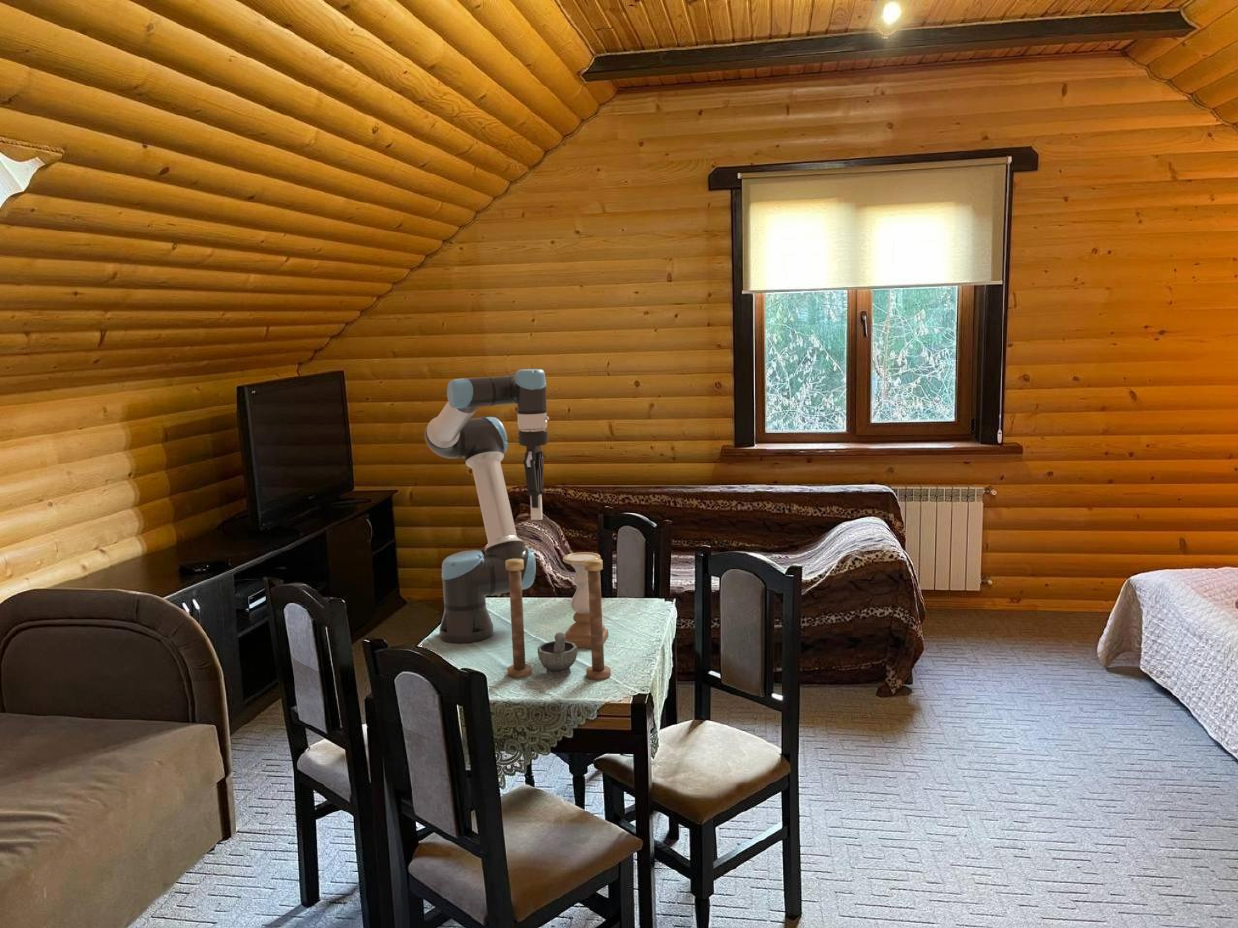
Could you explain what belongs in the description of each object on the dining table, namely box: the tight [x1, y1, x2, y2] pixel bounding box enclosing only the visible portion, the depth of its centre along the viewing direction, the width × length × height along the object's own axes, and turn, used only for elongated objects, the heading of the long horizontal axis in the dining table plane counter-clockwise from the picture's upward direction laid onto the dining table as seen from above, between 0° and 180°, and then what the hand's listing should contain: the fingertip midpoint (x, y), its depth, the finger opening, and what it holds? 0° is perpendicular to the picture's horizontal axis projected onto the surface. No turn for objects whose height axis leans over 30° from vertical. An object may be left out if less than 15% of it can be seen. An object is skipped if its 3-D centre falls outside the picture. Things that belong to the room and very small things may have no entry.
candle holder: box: [562, 551, 609, 649], centre depth 254 cm, size 11×11×24 cm
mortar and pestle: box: [537, 632, 578, 679], centre depth 231 cm, size 11×9×12 cm
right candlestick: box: [584, 558, 612, 681], centre depth 228 cm, size 6×6×29 cm
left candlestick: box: [505, 559, 533, 679], centre depth 231 cm, size 6×6×29 cm
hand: (536, 519), depth 244 cm, fingers closed
